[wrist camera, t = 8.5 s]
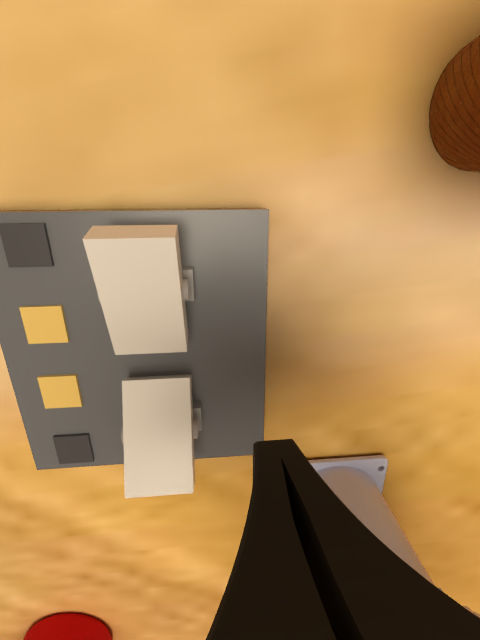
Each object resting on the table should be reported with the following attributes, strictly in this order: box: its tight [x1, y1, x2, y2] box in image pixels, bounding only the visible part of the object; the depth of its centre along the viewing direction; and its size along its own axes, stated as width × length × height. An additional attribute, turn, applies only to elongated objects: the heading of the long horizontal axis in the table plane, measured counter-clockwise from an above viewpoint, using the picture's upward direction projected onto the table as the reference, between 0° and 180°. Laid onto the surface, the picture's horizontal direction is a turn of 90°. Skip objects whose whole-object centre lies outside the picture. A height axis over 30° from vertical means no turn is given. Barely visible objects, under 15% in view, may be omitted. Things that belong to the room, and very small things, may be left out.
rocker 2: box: [121, 374, 198, 498], centre depth 18 cm, size 6×4×2 cm, turn 1°
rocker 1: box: [83, 225, 189, 355], centre depth 15 cm, size 6×4×2 cm, turn 0°
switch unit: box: [0, 208, 269, 470], centre depth 19 cm, size 15×14×3 cm
